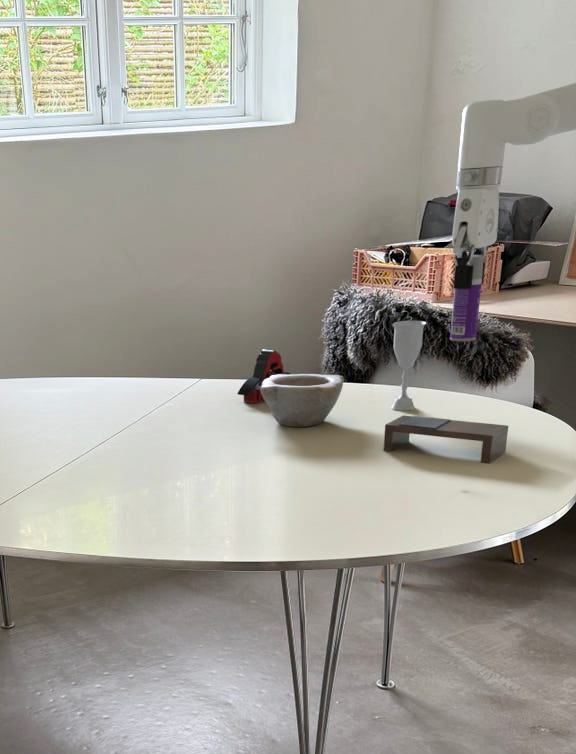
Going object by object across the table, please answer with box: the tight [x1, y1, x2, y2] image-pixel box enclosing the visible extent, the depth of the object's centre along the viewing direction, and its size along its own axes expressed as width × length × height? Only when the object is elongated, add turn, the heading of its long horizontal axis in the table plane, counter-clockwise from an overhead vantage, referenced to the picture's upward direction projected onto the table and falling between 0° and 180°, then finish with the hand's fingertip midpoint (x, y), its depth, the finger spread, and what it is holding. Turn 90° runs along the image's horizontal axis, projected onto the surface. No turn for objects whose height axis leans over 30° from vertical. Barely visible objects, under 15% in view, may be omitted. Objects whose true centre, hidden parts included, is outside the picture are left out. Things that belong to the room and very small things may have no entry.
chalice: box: [390, 320, 427, 412], centre depth 206 cm, size 7×7×18 cm
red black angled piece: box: [236, 349, 291, 404], centre depth 226 cm, size 18×4×11 cm, turn 129°
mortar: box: [261, 373, 345, 428], centre depth 203 cm, size 17×17×9 cm
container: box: [449, 255, 484, 342], centre depth 179 cm, size 5×5×15 cm
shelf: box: [383, 414, 509, 464], centre depth 176 cm, size 20×8×5 cm, turn 50°
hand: (468, 285), depth 178 cm, fingers closed on container, 4 cm apart
